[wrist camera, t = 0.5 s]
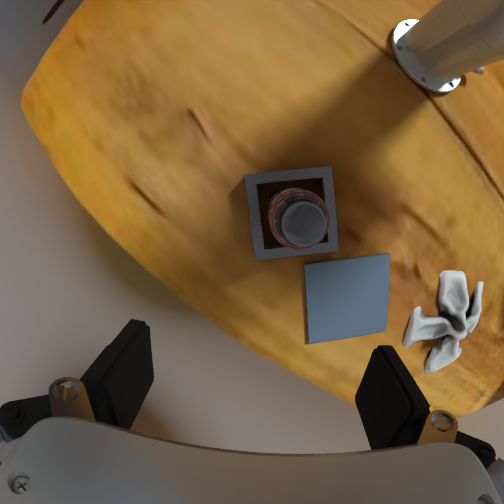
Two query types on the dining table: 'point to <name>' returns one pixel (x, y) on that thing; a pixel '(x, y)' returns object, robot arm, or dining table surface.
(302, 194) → the supplement bottle
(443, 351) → the cloth
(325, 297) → the board
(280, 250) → the collar
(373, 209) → the dining table surface
